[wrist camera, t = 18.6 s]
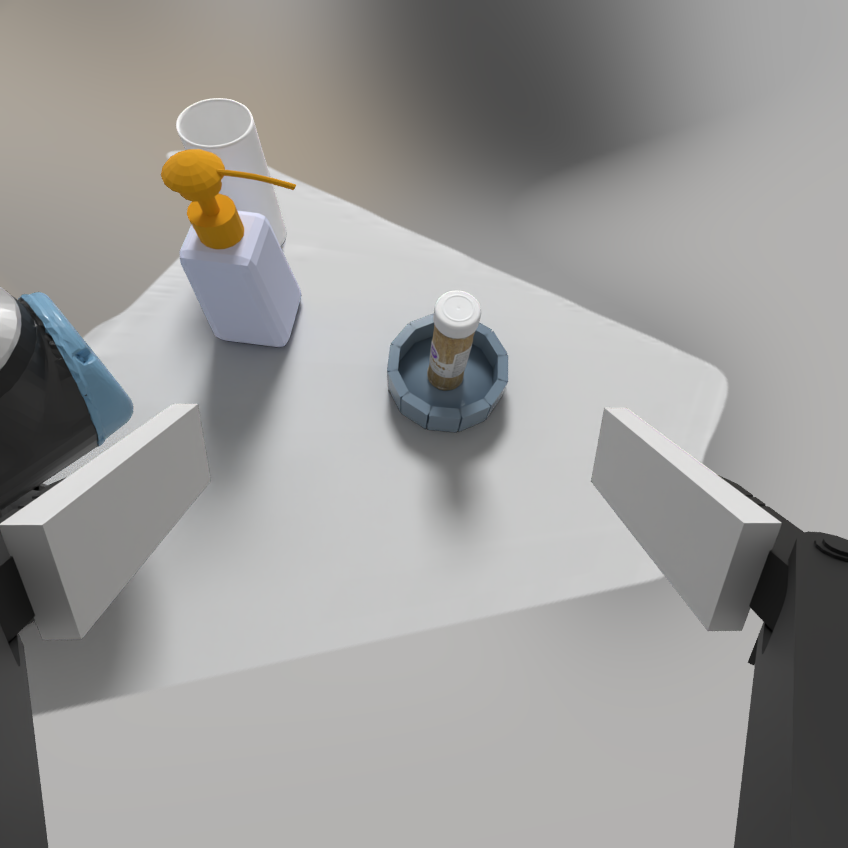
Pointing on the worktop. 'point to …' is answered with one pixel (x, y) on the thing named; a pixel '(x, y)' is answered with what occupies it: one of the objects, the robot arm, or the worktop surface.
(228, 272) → the soap bottle
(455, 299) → the sprinkles bottle
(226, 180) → the cup
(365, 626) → the worktop surface
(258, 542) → the worktop surface
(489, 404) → the bowl
